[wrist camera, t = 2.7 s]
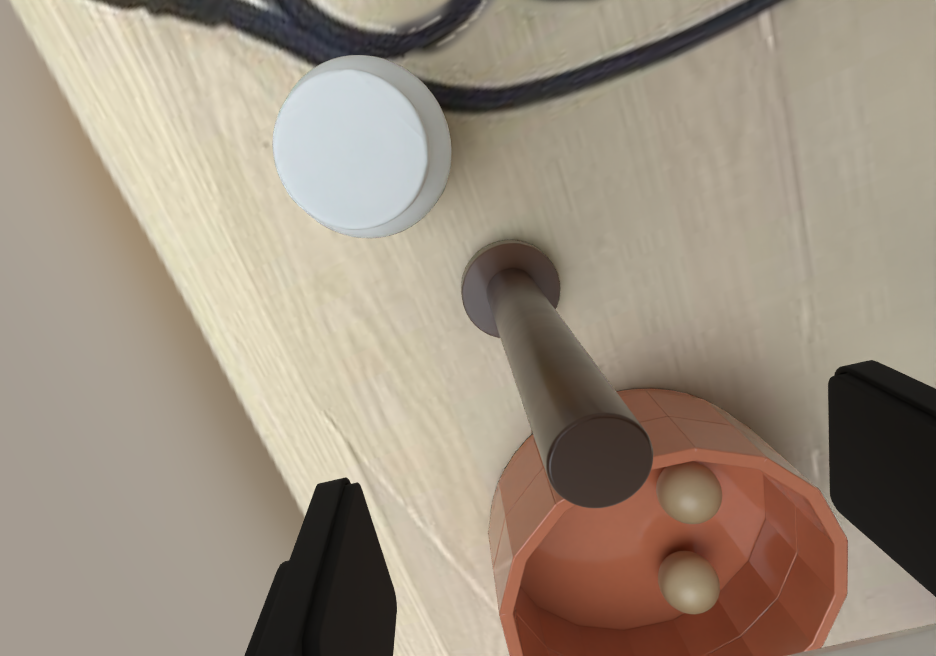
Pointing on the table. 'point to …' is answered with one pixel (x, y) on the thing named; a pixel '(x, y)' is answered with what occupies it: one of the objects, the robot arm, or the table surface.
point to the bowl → (668, 550)
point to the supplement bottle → (362, 146)
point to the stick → (556, 378)
